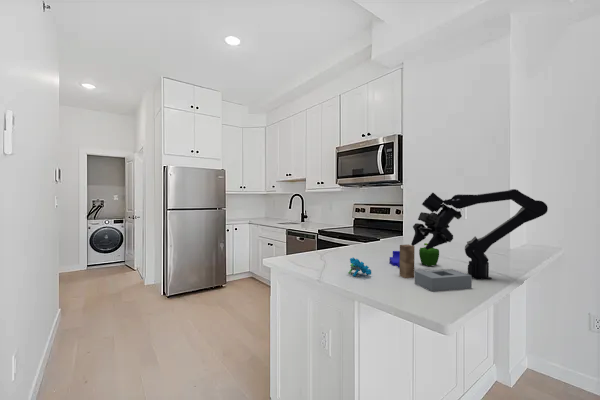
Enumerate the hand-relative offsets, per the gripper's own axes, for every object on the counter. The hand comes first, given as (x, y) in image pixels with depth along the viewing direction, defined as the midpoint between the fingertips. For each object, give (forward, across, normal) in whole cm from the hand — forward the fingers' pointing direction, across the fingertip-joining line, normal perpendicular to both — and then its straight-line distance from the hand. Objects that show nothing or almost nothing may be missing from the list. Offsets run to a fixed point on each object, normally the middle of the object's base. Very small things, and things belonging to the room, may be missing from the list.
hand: (418, 246), depth 120 cm
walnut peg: (+12, 0, +4) cm, 13 cm away
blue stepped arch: (+8, -17, +9) cm, 21 cm away
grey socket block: (+8, +14, +8) cm, 18 cm away
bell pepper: (-3, -15, +20) cm, 25 cm away
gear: (+25, -6, -8) cm, 27 cm away
